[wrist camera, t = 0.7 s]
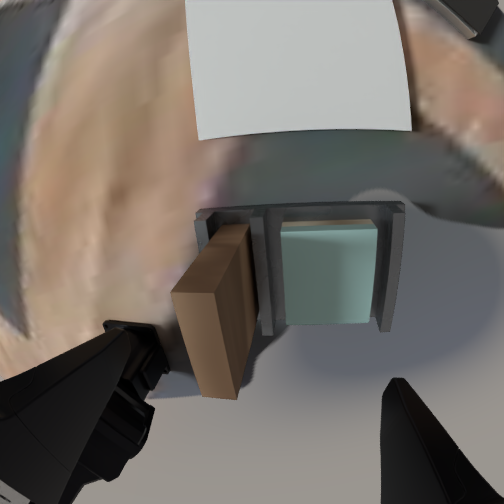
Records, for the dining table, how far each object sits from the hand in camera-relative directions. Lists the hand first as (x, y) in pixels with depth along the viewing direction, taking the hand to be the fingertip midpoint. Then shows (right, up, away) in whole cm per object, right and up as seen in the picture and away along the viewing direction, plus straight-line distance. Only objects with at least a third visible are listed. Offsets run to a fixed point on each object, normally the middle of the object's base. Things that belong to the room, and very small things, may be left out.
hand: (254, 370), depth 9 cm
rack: (+3, +3, +13) cm, 14 cm away
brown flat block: (-1, +2, +13) cm, 13 cm away
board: (+3, +17, +7) cm, 19 cm away
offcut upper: (+5, +2, +11) cm, 12 cm away
